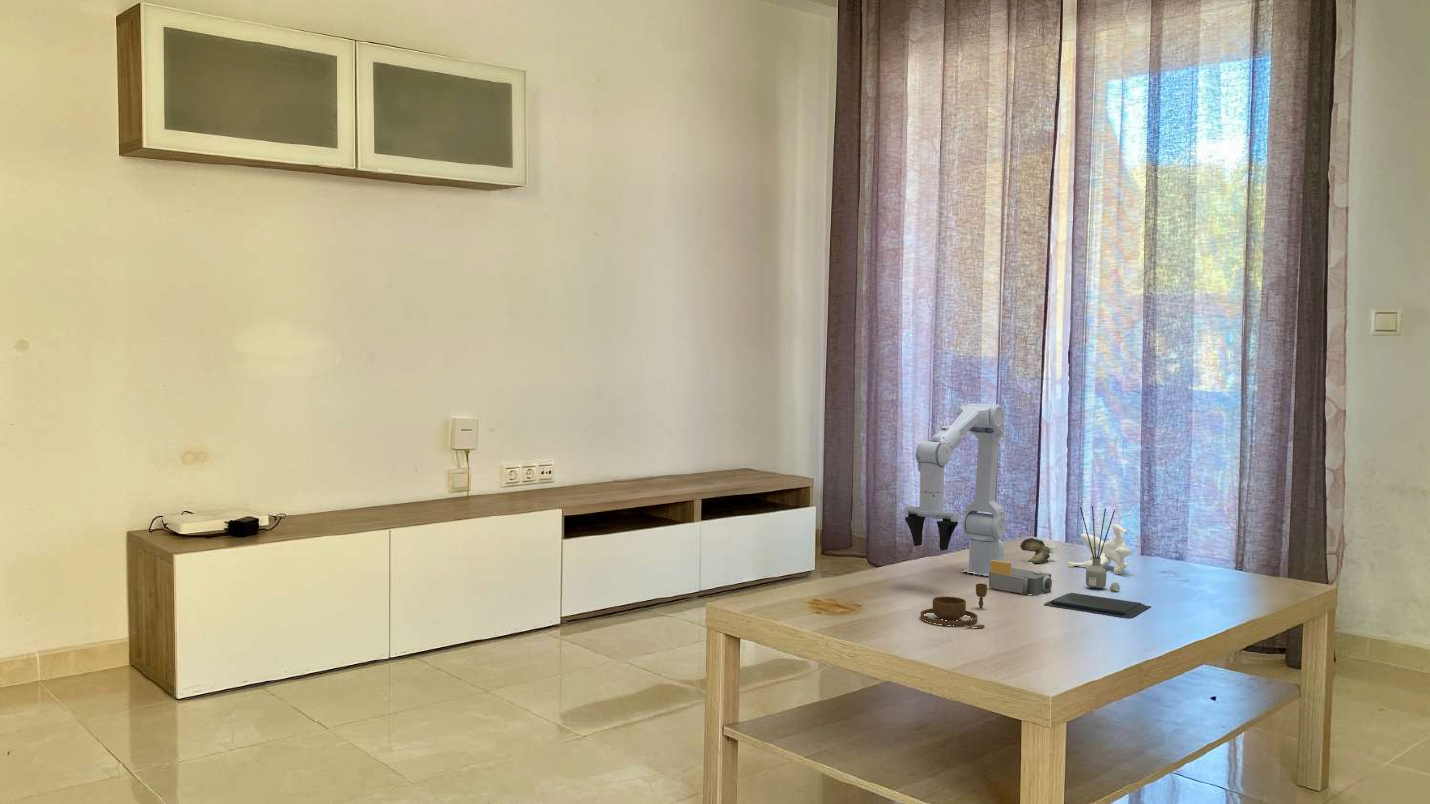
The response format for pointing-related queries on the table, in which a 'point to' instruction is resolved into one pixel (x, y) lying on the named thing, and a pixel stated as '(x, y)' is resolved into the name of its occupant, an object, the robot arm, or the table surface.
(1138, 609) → the wallet
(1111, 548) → the person figurine
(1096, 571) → the reed diffuser
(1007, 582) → the side hatch
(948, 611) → the place setting
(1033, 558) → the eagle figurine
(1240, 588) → the table surface
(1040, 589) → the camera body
